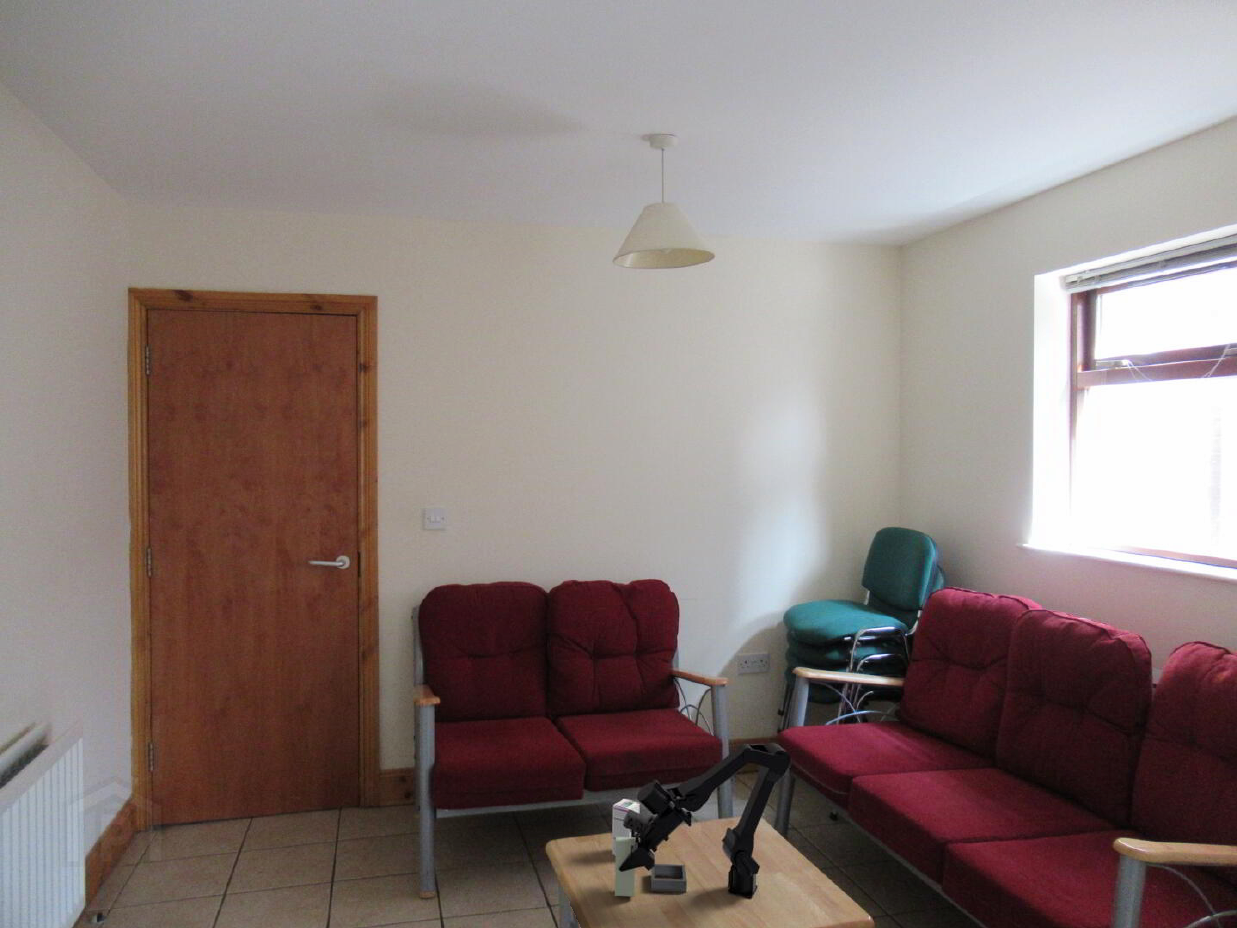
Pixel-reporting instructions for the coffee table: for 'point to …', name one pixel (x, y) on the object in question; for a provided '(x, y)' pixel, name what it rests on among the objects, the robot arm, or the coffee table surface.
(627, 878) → the sage block
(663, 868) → the square socket
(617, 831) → the syrup box
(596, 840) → the coffee table surface
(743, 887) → the robot arm
